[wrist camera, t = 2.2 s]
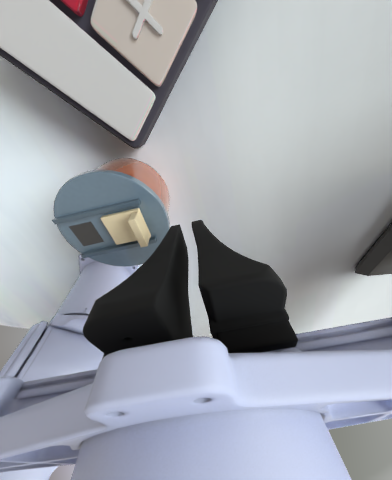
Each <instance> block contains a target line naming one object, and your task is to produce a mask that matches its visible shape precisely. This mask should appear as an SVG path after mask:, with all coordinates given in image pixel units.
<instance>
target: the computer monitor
mask: <svg viewBox="0 0 392 480" xmlns="http://www.w3.org/2000/svg"><path fill="white" fill-rule="evenodd" d="M355 273H358V274H362V275H367V276H371V275H382V274H392V223H391V225H390V226H389V227H388V228H387V229H386V231H385V232H384V233H383V234H382V236H381V237H380V238H379V239H378V240H377V242H376V243H375V244H374V245H373V247H372V248H371V249H370V250H369V251H368V253H367V254H366V255H365V256H364V258H363V259H362V260H361V261H360V262H359V264H358V265H357V266H356V269H355Z"/></svg>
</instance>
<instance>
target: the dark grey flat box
mask: <svg viewBox="0 0 392 480" xmlns="http://www.w3.org/2000/svg"><path fill="white" fill-rule="evenodd" d="M217 1H218V0H0V55H1V56H2V57H3V58H5V59H6V60H8V61H9V62H11V63H12V64H13V65H15V66H16V67H18V68H19V69H21V70H22V71H23V72H25V73H26V74H28V75H29V76H31V77H32V78H33V79H35V80H36V81H38V82H39V83H41V84H42V85H43V86H45V87H46V88H48V89H49V90H51V91H52V92H53V93H55V94H56V95H58V96H59V97H61V98H62V99H63V100H65V101H66V102H68V103H69V104H71V105H72V106H74V107H75V108H76V109H78V110H79V111H81V112H82V113H84V114H85V115H86V116H88V117H89V118H91V119H92V120H94V121H95V122H96V123H98V124H99V125H101V126H102V127H104V128H105V129H106V130H108V131H109V132H111V133H112V134H114V135H115V136H116V137H118V138H119V139H121V140H122V141H124V142H125V143H126V144H128V145H129V146H131V147H133V148H139V147H140V146H142V145H144V144H145V142H146V140H147V139H148V137H149V135H150V133H151V131H152V129H153V127H154V125H155V123H156V121H157V119H158V117H159V115H160V113H161V111H162V109H163V107H164V105H165V103H166V101H167V98H168V96H169V94H170V93H171V91H172V89H173V87H174V85H175V83H176V81H177V79H178V77H179V75H180V73H181V71H182V69H183V67H184V65H185V63H186V61H187V59H188V57H189V56H190V54H191V52H192V50H193V48H194V46H195V44H196V42H197V40H198V38H199V36H200V34H201V32H202V30H203V28H204V26H205V24H206V22H207V20H208V18H209V17H210V15H211V13H212V11H213V9H214V7H215V5H216V3H217Z"/></svg>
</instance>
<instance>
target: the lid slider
mask: <svg viewBox="0 0 392 480" xmlns="http://www.w3.org/2000/svg"><path fill="white" fill-rule="evenodd" d="M100 219H101V220H102V222H103V224H104V225H105V227H106V228H107V230H108V232H109V233H110V235H111V237H112V238H113V240H114V241H115V243H116V245H118V244H123V243H127V242H132V241H136V240H137V241H138V242H139V244H140V246H141V247H146V246H148V243H149V239H150V237H151V234H150V232H149V229H148V227H147V225H146V222H145V220H144V218H143V216H142V213H141V211H140V209H139V208H135V209H131V210H127V211H122V212H118V213H114V214H109V215H105V216H102V217H101V218H100Z"/></svg>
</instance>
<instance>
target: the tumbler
mask: <svg viewBox="0 0 392 480" xmlns="http://www.w3.org/2000/svg"><path fill="white" fill-rule="evenodd" d="M169 201H170V199H169V192H168V189H167V186H166V184H165V182H164V180H163V179H162V178H161V176H160V175H159V174H158V173H157V172H156V171H155V170H154V169H153V168H151V167H150V166H149V165H147V164H145V163H143V162H141V161H138V160H135V159H130V158H118V159H113V160H110V161H108V162H106V163H104V164H103V165H101V166H100V167H98V168H96V169H95V170H93V171H87V172H84V173H81V174H79V175H77V176H75V177H74V178H72V179H70V180H69V181H68V182H66V183H65V184H64V185H63V186H62V187H61V188H60V190H59V192H58V193H57V195H56V198H55V202H54V216H55V219H53V220H52V221H53V222H54V224H57V226H58V228H59V230H60V232H61V234H62V235H63V236H64V238H65V239H66V240H67V241H68V242H69V243H70V244H71V245H72V246H73V247H74V248H75V249H76V250H78V251H79V252H80V253H82V254H81V257H82V258H87V257H89V258H91V259H93V260H95V261H98V262H100V263H104V264H107V265H112V266H135V265H139V264H143V263H145V262H146V261H147V259H148V258H149V257H150V256H151V255H152V254H153V252H154V251H155V250H156V248H157V247H158V246H159V244H160V243H161V241H162V240H163V238H164V237H165V235H166V234H167V232H168V230H169V229H170V222H169V217H168V211H169ZM135 208H139V209H140V211H141V213H142V216H143V218H144V220H145V222H146V225H147V227H148V229H149V232H150V234H151V237H150V239H149V243H148V246H146V247H141V246H140V244H139V242H138V241H137V240H136V241H132V242H127V243H123V244H118V245H116V243H115V241H114V240H113V238H112V237H111V235H110V233H109V232H108V230H107V228H106V227H105V225H104V224H103V222H102V220H101V219H100V218H101V217H102V216H105V215H109V214H114V213H118V212H122V211H127V210H131V209H135Z"/></svg>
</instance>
